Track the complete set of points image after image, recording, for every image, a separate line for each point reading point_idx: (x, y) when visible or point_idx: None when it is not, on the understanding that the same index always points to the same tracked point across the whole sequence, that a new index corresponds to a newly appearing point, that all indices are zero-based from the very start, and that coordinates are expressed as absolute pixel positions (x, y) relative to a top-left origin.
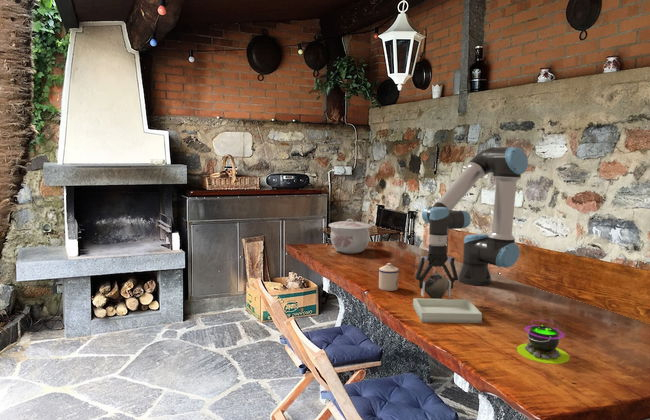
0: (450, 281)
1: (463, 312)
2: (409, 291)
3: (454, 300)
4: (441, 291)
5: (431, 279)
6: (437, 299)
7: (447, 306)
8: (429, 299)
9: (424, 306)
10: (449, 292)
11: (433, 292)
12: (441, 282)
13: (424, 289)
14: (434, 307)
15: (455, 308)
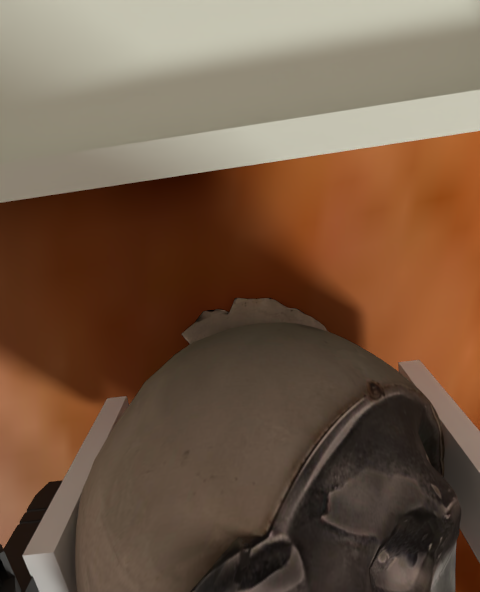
0: (34, 584)
1: None
2: (466, 571)
3: (38, 158)
4: (207, 338)
5: (393, 563)
6: (282, 122)
7: (150, 113)
8: (404, 102)
9: (447, 48)
10: (102, 431)
11: (322, 330)
12: (198, 446)
13: (438, 415)
14: (320, 32)
15: (52, 48)
